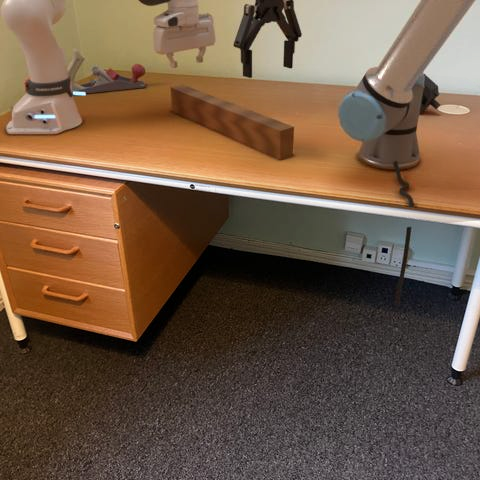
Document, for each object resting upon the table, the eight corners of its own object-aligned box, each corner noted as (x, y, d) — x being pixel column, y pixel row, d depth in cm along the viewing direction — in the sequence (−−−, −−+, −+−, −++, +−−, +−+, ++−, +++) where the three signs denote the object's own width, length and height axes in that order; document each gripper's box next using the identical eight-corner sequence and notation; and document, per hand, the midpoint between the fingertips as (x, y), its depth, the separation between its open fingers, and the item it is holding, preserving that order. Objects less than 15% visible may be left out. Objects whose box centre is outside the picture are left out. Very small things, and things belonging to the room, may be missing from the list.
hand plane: (62, 90, 197) (53, 48, 189) (145, 82, 205) (140, 41, 197) (62, 96, 191) (54, 53, 184) (148, 87, 199) (143, 45, 191)
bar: (293, 155, 142) (294, 126, 138) (279, 160, 140) (280, 131, 136) (184, 108, 178) (182, 84, 173) (172, 111, 175) (170, 87, 171)
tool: (378, 91, 179) (405, 54, 169) (421, 128, 175) (451, 93, 164) (370, 95, 176) (396, 58, 165) (413, 134, 171) (443, 98, 161)
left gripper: (206, 11, 163) (208, 57, 170) (148, 19, 152) (153, 68, 160) (218, 13, 159) (220, 60, 166) (159, 22, 148) (164, 72, 156)
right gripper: (297, -27, 133) (293, 61, 144) (217, -18, 120) (219, 77, 131) (319, -24, 128) (313, 66, 139) (237, -15, 115) (238, 84, 126)
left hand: (187, 64), depth 163 cm, fingers open, 8 cm apart
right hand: (268, 72), depth 135 cm, fingers open, 13 cm apart
